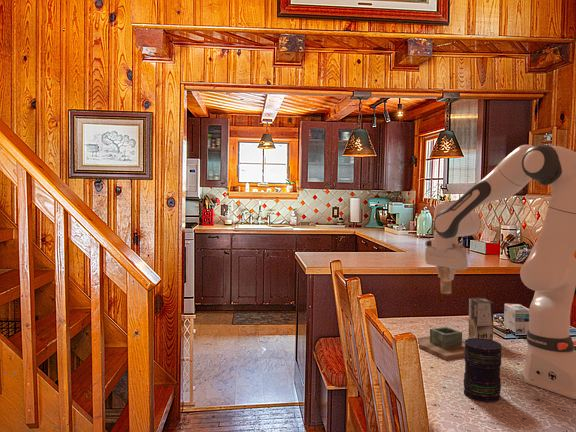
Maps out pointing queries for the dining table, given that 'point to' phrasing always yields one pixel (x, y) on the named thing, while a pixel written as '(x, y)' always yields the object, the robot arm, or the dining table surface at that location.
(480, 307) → the coffee box
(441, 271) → the peg
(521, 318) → the light bulb box
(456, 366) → the dining table surface
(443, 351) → the holder
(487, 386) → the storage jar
